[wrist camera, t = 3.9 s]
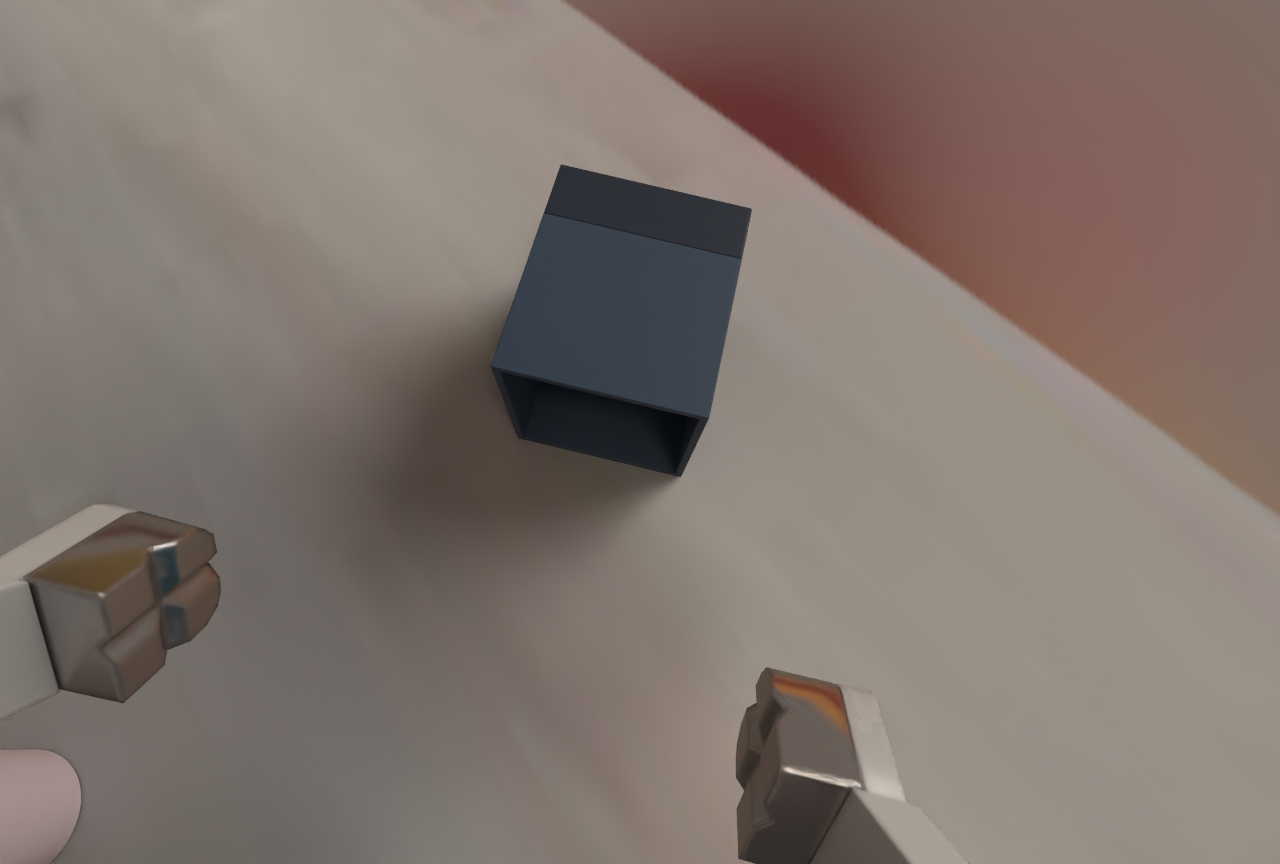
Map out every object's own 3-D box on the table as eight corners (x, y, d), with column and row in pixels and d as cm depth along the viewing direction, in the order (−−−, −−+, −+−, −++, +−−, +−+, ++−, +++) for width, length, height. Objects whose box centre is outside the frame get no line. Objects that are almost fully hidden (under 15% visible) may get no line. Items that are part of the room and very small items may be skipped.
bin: (569, 275, 26) (560, 163, 20) (716, 309, 26) (752, 208, 20) (517, 438, 24) (490, 366, 18) (680, 477, 24) (708, 418, 18)
